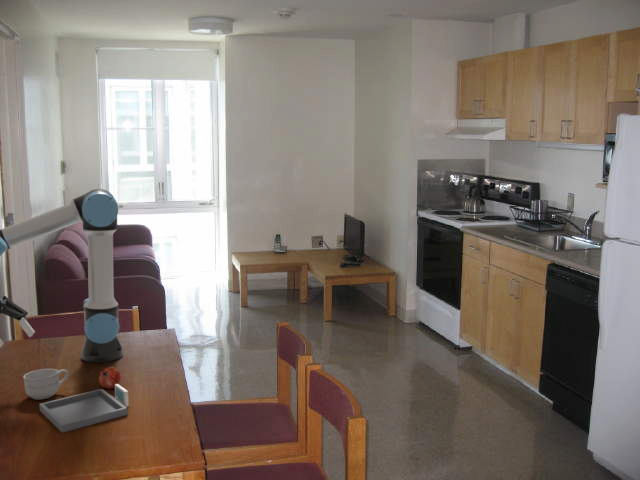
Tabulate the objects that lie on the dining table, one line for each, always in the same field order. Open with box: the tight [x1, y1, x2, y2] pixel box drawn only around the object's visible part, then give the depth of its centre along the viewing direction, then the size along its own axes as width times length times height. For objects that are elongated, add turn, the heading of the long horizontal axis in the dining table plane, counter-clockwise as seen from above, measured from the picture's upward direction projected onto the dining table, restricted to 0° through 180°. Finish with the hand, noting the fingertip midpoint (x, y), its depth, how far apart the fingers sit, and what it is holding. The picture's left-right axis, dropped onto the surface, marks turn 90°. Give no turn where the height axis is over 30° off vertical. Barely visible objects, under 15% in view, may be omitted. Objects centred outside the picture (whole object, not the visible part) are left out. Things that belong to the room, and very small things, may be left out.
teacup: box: [22, 368, 70, 401], centre depth 227 cm, size 14×11×8 cm
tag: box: [114, 383, 130, 408], centre depth 221 cm, size 1×8×5 cm, turn 39°
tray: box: [38, 388, 129, 433], centre depth 214 cm, size 20×20×2 cm
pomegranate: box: [98, 366, 122, 390], centre depth 234 cm, size 7×7×10 cm
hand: (17, 340), depth 228 cm, fingers open, 13 cm apart
